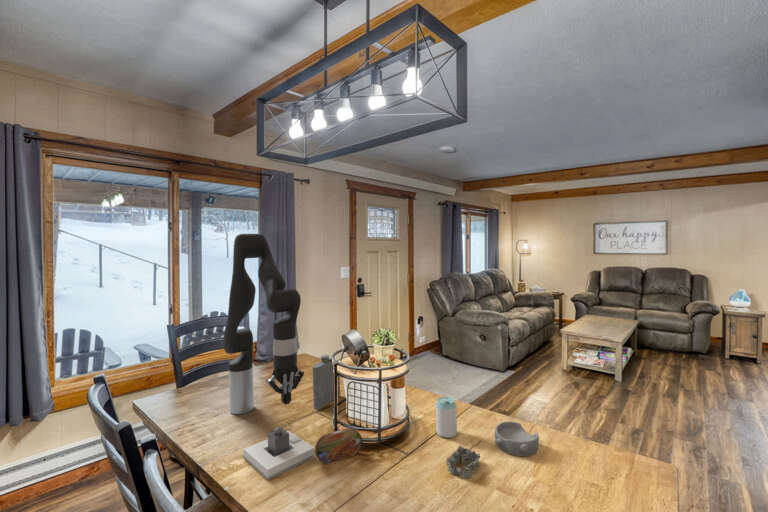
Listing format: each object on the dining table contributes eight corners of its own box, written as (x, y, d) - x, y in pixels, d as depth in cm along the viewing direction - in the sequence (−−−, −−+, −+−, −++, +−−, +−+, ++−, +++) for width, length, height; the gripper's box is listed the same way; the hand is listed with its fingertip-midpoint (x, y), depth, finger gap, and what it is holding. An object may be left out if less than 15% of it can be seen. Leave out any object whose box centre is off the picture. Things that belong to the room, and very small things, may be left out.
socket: (243, 458, 119) (243, 447, 119) (288, 438, 130) (288, 428, 130) (267, 480, 108) (267, 467, 108) (314, 456, 119) (314, 445, 119)
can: (460, 433, 131) (460, 399, 131) (449, 441, 126) (449, 406, 126) (443, 426, 136) (443, 394, 136) (432, 434, 131) (431, 400, 131)
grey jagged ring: (468, 482, 105) (468, 468, 105) (444, 473, 110) (444, 459, 109) (482, 463, 114) (482, 450, 113) (459, 455, 118) (459, 442, 118)
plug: (268, 455, 119) (267, 428, 119) (282, 449, 122) (281, 423, 122) (275, 461, 116) (274, 433, 115) (289, 454, 119) (288, 428, 119)
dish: (506, 431, 133) (506, 417, 132) (546, 445, 123) (546, 430, 122) (485, 447, 122) (485, 432, 122) (526, 464, 113) (526, 448, 112)
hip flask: (318, 410, 152) (316, 361, 151) (310, 408, 154) (308, 360, 153) (341, 396, 166) (340, 351, 165) (334, 394, 168) (333, 350, 167)
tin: (317, 467, 113) (316, 440, 113) (314, 462, 116) (313, 435, 116) (362, 453, 120) (362, 427, 120) (358, 449, 123) (358, 423, 123)
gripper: (297, 344, 129) (298, 394, 129) (260, 353, 120) (261, 406, 120) (308, 349, 123) (310, 400, 124) (271, 358, 114) (272, 414, 115)
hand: (286, 403), depth 122 cm, fingers closed
